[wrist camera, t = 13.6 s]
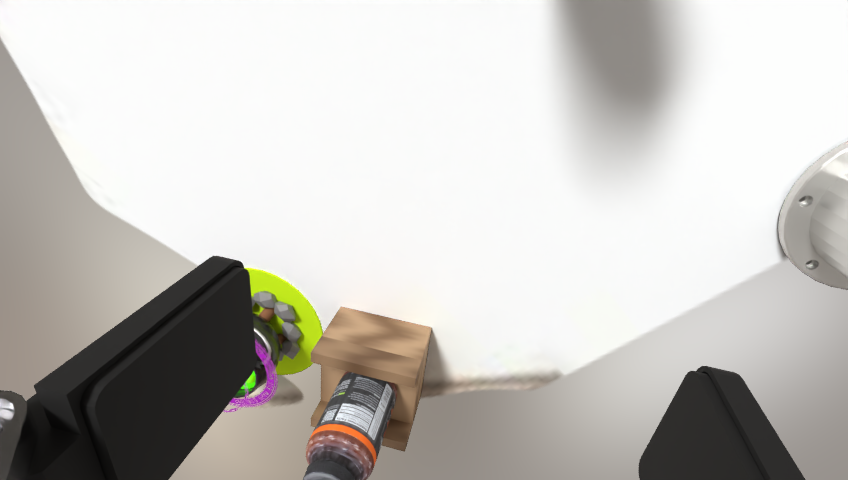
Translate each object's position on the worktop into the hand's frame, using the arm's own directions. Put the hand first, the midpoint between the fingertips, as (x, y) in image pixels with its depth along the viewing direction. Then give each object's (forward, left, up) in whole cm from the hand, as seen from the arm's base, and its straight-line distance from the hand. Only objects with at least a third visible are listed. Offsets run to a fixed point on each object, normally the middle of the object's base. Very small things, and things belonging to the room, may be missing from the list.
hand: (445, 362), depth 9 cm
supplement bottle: (+8, +27, -24) cm, 37 cm away
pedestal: (+8, +27, -28) cm, 40 cm away
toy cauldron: (+22, +27, -29) cm, 45 cm away
